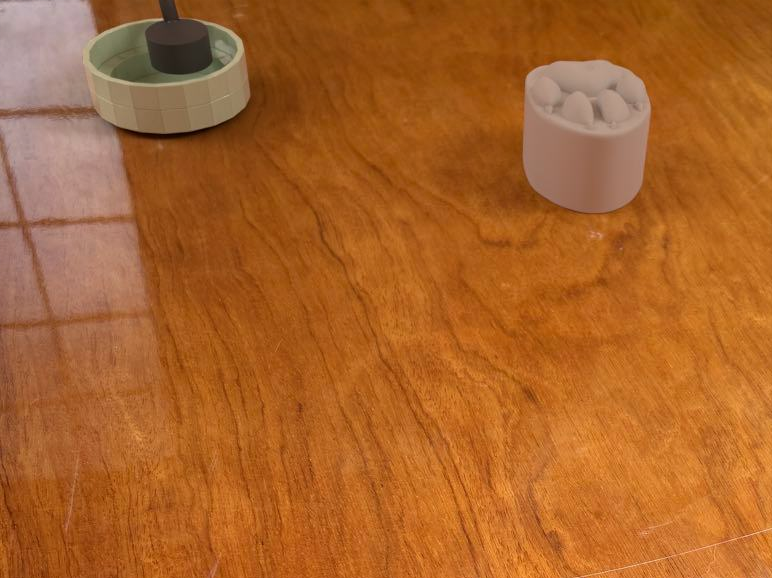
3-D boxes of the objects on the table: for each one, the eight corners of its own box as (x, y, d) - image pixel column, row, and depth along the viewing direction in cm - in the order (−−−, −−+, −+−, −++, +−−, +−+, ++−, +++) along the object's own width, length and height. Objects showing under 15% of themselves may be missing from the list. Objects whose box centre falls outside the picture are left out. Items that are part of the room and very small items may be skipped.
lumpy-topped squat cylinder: (625, 136, 109) (634, 45, 103) (656, 210, 101) (669, 115, 94) (515, 141, 108) (518, 48, 102) (538, 216, 99) (543, 119, 93)
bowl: (162, 156, 103) (151, 102, 100) (63, 103, 109) (49, 50, 105) (282, 101, 111) (275, 49, 108) (183, 55, 117) (174, 4, 113)
